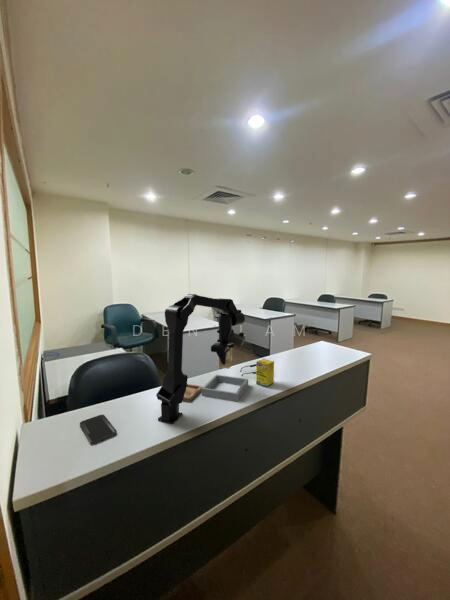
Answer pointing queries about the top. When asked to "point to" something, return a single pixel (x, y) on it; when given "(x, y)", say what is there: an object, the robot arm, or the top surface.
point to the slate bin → (224, 394)
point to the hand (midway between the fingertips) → (225, 362)
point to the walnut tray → (191, 392)
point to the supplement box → (265, 372)
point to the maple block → (227, 359)
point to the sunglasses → (250, 366)
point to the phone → (97, 429)
